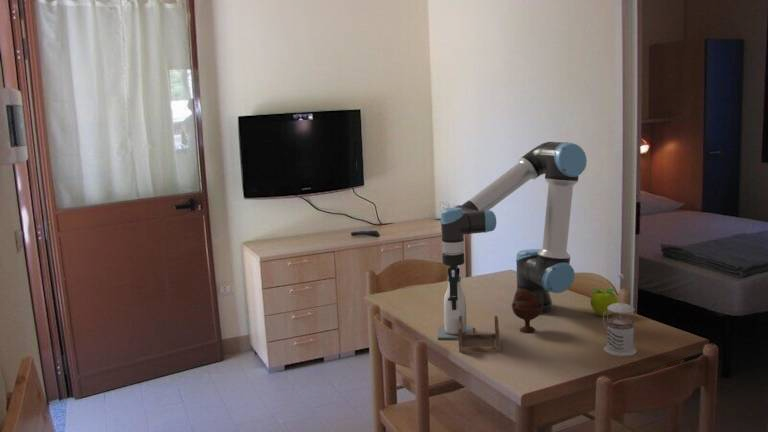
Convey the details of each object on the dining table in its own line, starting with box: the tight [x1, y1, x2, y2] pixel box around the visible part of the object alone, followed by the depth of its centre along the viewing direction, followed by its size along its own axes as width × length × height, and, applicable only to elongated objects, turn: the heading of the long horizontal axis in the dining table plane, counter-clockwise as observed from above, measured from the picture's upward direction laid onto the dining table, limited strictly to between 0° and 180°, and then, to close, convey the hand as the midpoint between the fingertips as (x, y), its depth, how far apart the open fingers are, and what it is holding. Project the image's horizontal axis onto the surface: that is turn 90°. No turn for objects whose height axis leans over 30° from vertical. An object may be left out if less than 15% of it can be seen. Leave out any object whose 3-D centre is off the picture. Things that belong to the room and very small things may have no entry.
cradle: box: [458, 315, 500, 354], centre depth 212 cm, size 13×13×8 cm
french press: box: [602, 273, 637, 357], centre depth 201 cm, size 10×12×25 cm
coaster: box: [437, 325, 474, 341], centre depth 224 cm, size 12×12×1 cm
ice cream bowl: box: [510, 289, 543, 334], centre depth 222 cm, size 11×11×15 cm
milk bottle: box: [443, 275, 468, 334], centre depth 223 cm, size 8×8×20 cm
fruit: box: [590, 288, 618, 317], centre depth 235 cm, size 9×9×10 cm
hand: (455, 312), depth 223 cm, fingers open, 12 cm apart
